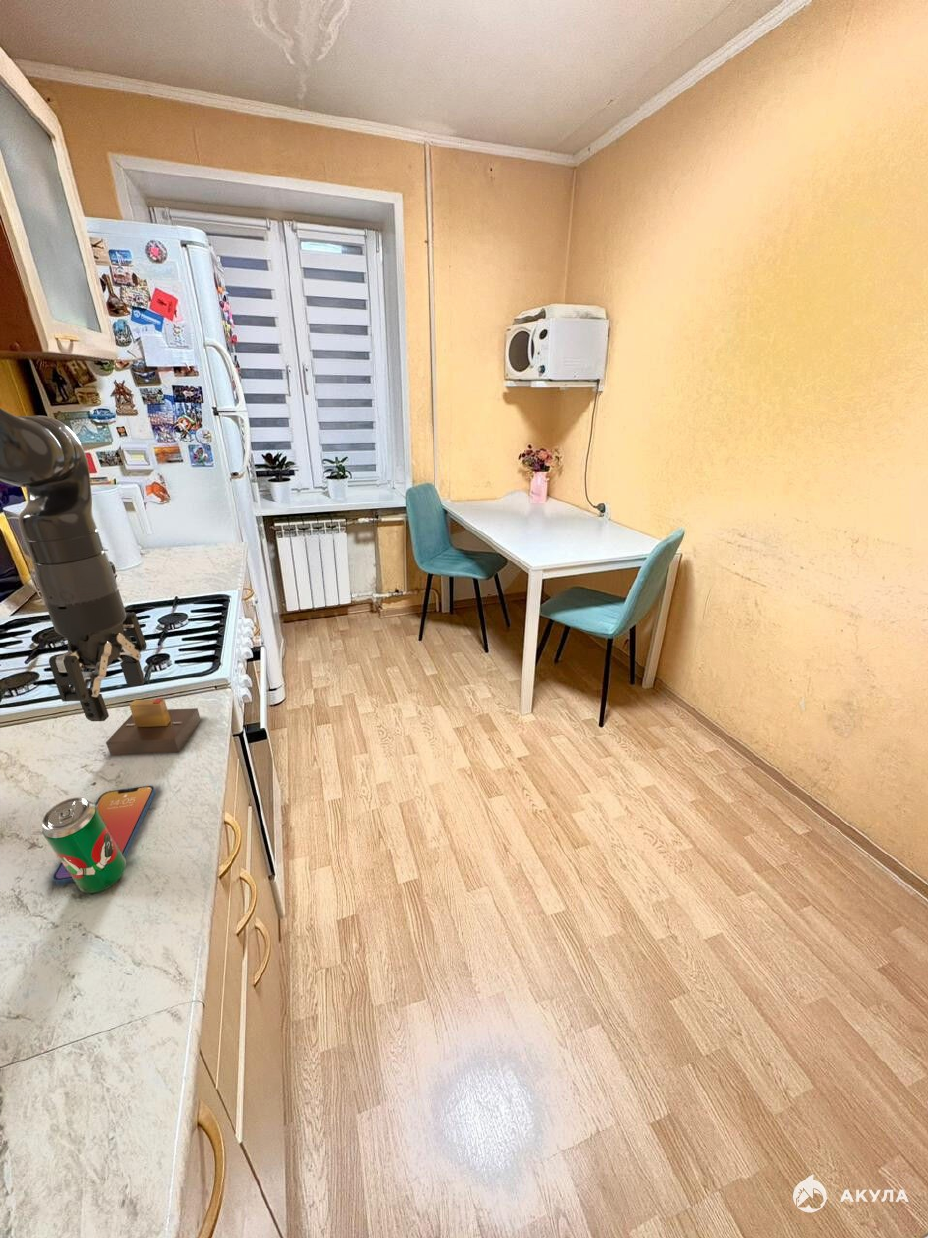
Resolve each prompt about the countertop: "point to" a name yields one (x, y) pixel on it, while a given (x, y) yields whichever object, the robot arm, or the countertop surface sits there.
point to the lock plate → (155, 734)
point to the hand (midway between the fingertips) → (119, 701)
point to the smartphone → (118, 819)
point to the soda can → (84, 844)
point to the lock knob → (150, 713)
